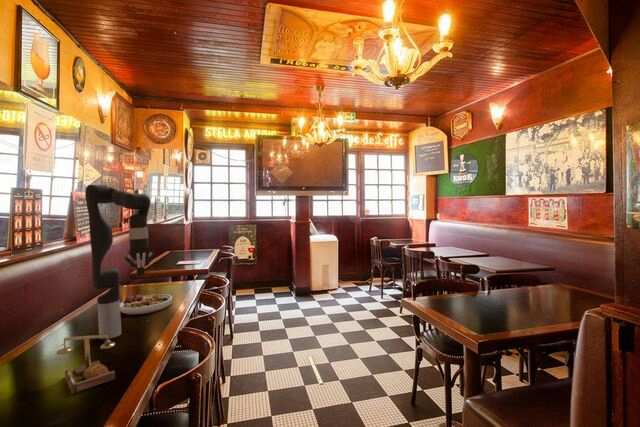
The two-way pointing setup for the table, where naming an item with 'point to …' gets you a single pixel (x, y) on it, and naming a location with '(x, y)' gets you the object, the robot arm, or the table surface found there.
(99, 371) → the pastry
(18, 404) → the table surface
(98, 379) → the rail
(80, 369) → the balance
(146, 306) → the bowl
